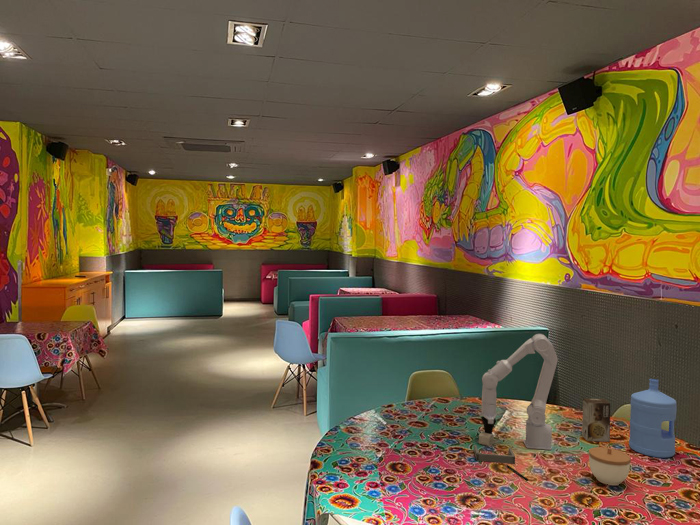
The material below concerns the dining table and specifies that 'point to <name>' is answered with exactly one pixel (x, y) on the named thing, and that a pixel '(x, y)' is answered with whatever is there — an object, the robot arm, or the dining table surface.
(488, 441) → the usb wall charger
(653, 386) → the water jug
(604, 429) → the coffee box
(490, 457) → the charging bay
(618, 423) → the dining table surface
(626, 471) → the lidded bowl
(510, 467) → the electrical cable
